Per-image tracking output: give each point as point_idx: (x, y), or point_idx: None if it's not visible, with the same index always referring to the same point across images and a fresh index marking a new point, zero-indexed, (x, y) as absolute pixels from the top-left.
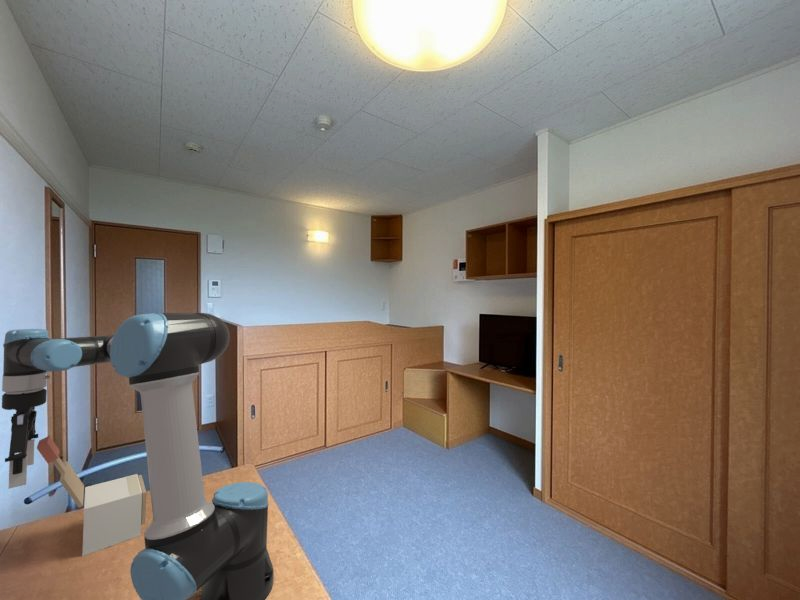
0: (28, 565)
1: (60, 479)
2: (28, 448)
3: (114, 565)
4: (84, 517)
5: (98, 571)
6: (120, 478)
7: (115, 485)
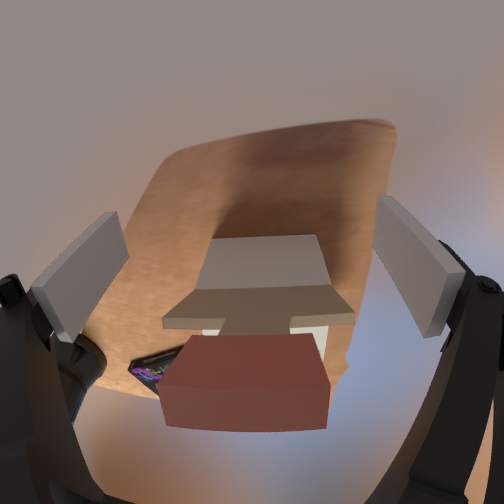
0: (237, 165)
1: (174, 319)
2: (409, 282)
3: (159, 276)
4: (197, 282)
5: (155, 260)
6: (324, 342)
7: None
